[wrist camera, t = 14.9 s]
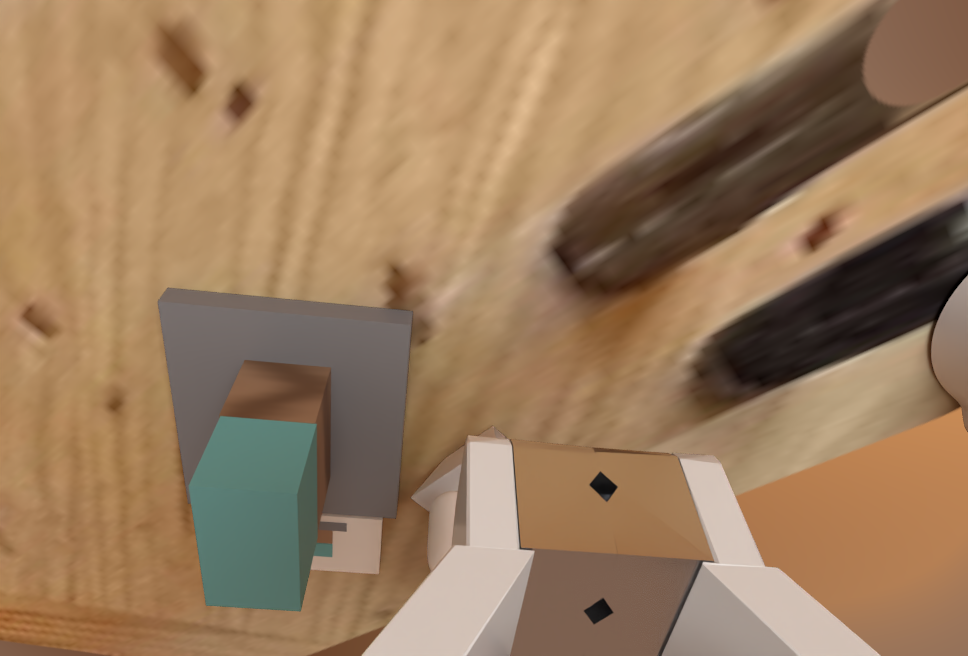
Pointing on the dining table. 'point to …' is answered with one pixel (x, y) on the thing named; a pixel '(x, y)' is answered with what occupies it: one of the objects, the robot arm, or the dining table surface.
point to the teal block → (256, 513)
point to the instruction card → (348, 544)
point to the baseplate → (303, 341)
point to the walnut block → (287, 404)
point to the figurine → (443, 501)
